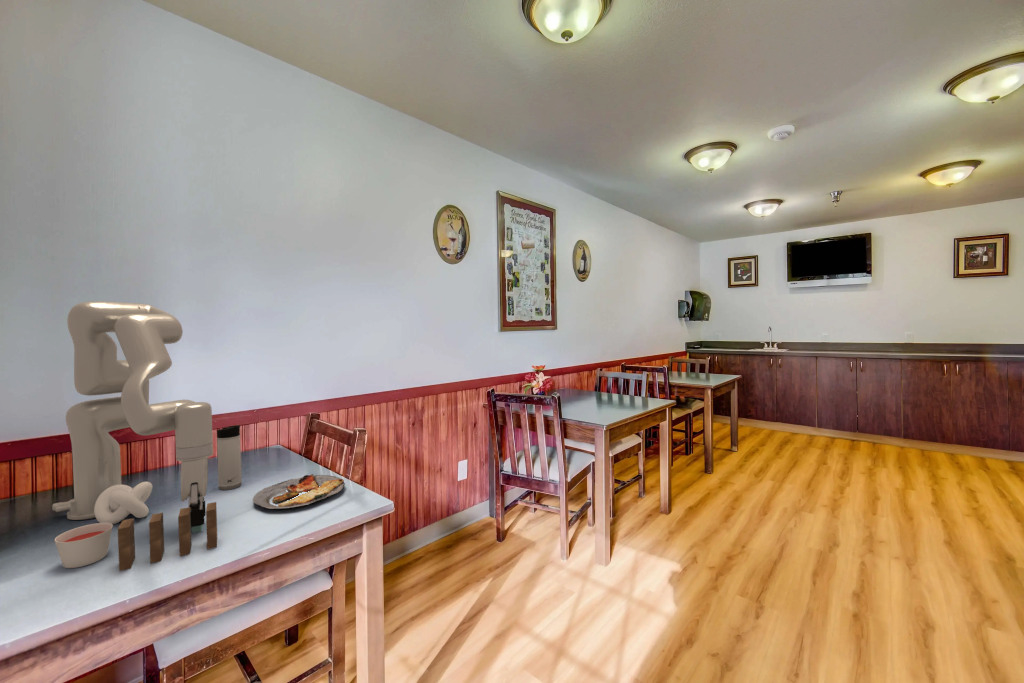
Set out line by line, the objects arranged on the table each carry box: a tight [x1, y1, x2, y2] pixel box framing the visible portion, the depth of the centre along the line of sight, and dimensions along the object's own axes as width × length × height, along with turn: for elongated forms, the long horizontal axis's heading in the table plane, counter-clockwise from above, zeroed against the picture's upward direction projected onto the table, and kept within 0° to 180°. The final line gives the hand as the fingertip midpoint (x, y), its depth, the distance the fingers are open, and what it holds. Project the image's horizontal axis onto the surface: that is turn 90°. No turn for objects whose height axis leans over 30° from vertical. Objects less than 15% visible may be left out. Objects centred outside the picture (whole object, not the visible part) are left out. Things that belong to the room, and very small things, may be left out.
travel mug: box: [216, 424, 243, 491], centre depth 135 cm, size 6×7×20 cm
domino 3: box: [177, 506, 192, 557], centre depth 96 cm, size 2×5×9 cm, turn 34°
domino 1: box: [117, 517, 136, 572], centre depth 90 cm, size 2×5×9 cm, turn 34°
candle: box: [54, 522, 114, 569], centre depth 92 cm, size 9×9×6 cm
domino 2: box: [148, 512, 165, 564], centre depth 93 cm, size 2×5×9 cm, turn 34°
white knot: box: [94, 481, 153, 525], centre depth 113 cm, size 11×12×9 cm
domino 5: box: [205, 501, 218, 550], centre depth 99 cm, size 2×5×9 cm, turn 34°
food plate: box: [252, 473, 346, 510], centre depth 127 cm, size 25×23×4 cm
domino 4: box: [191, 495, 203, 534], centre depth 107 cm, size 2×5×9 cm, turn 34°
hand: (197, 520), depth 107 cm, fingers closed on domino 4, 4 cm apart
